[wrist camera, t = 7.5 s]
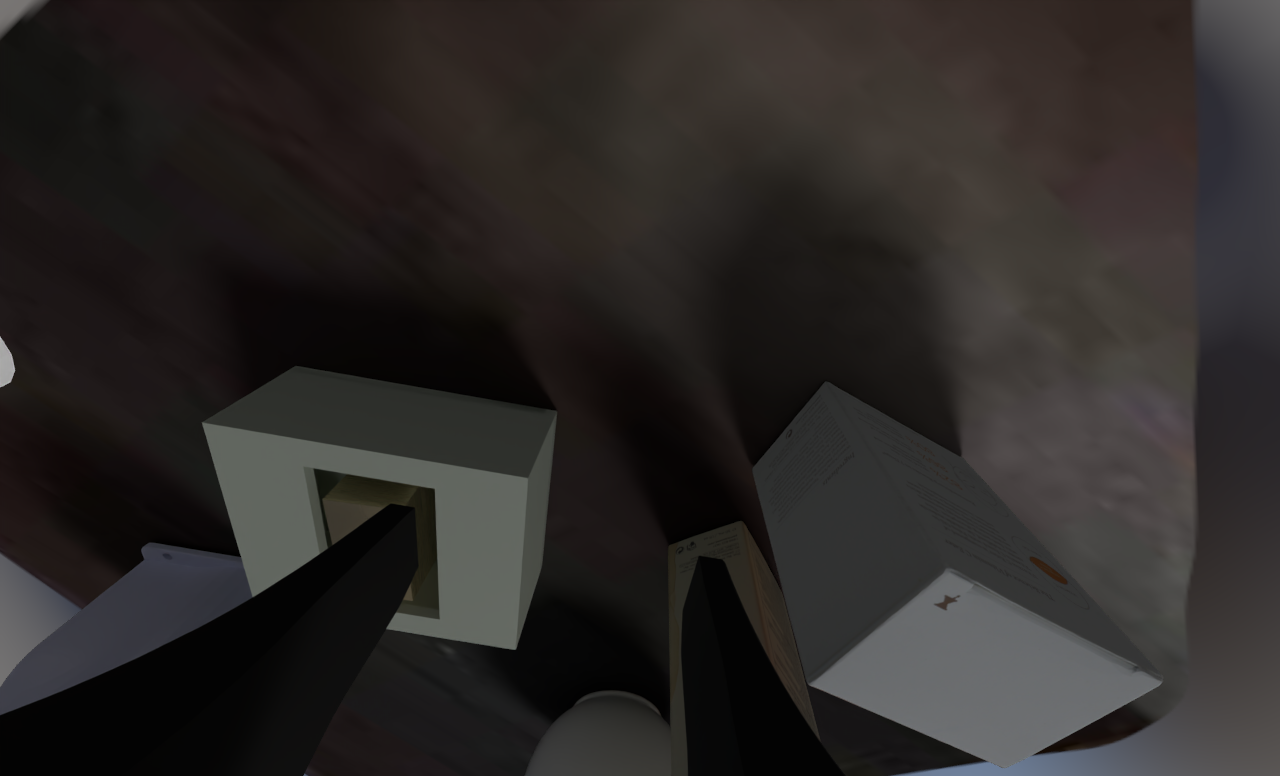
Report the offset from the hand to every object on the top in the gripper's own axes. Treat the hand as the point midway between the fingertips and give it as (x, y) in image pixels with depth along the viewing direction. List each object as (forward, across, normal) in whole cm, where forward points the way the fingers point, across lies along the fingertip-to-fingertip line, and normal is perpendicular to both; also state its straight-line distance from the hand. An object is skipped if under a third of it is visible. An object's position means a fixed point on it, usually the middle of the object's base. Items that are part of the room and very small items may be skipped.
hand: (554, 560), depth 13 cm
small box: (+11, -12, +2) cm, 16 cm away
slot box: (+10, +8, +7) cm, 15 cm away
